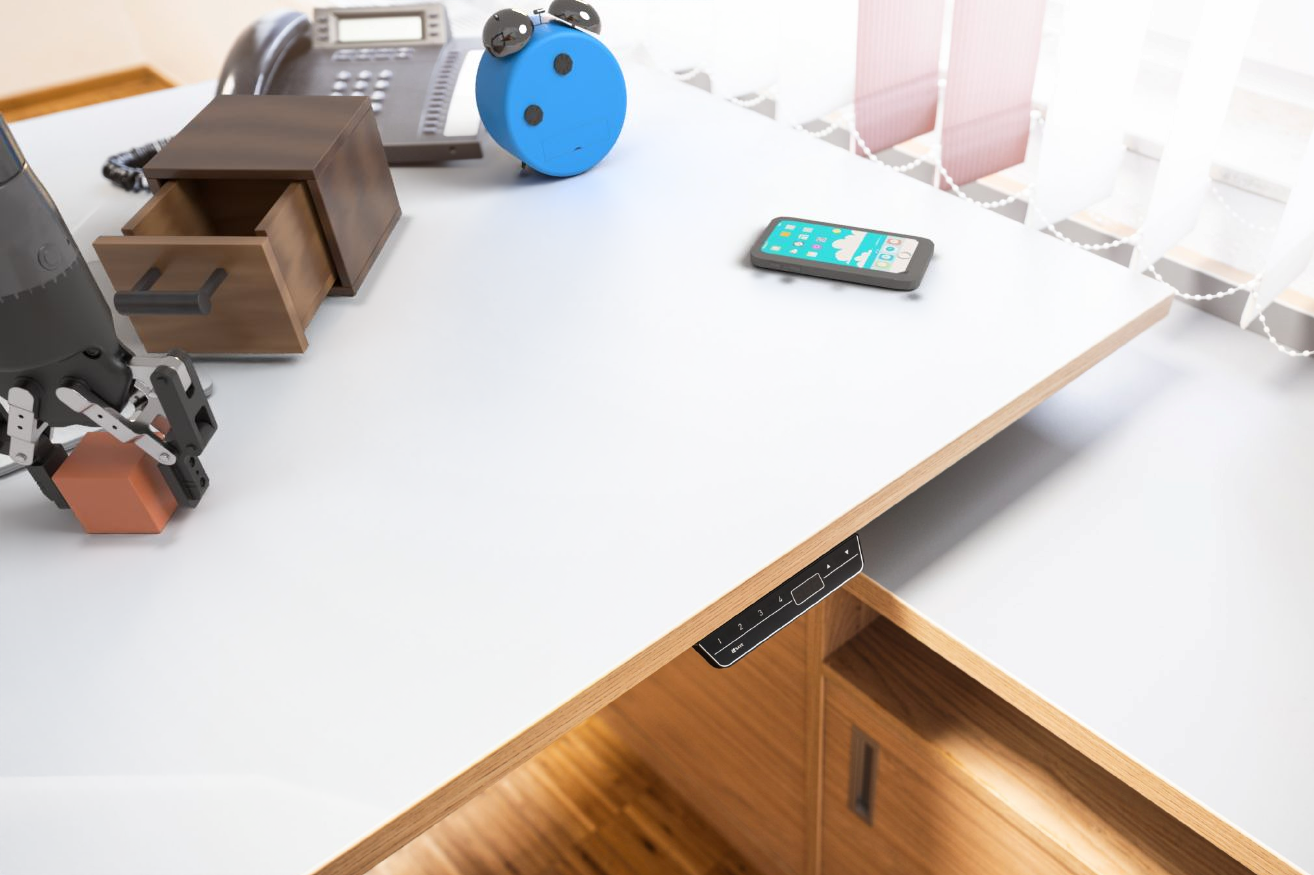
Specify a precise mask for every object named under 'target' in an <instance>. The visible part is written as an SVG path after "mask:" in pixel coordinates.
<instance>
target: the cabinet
mask: <svg viewBox="0 0 1314 875" xmlns="http://www.w3.org/2000/svg"><path fill="white" fill-rule="evenodd" d="M141 171H142V173H143V175H144V176H143V177H144V178H145V180H146V182H147V184H148V187H149V189H150V191H151V194H152V197H153V196H154V195H155V194H156V193H157V191H158V190H159V189H160V188H161V187H162V186H163V185H164V184H165V183H166V182H167V181H168V180H169V179H280V180H307V183H308V186H309V189H310V192H311V195H312V198H313V201H314V204H315V207H316V210H317V213H318V216H319V219H320V221H321V224H322V227H323V230H324V233H325V236H326V239H327V242H328V245H329V248H330V251H331V254H332V257H333V260H334V263H335V266H336V269H337V272H338V275H339V276H338V277H337V279H336V280H335V282H334V284H333V285H332V287H331V289H330V290H329V292H328V294H327V295H326V297H331V296H332V297H338V296H339V297H340V296H341V297H347V296H348V297H353V296H354V297H355V296H356V295H357V293H358V291H359V290H360V287H361V286H362V284H364V281H365V279H366V277H367V276H368V274H369V272H370V271H371V269H372V267H373V266H374V264H375V262H376V260H377V258H378V256H379V255H380V253H381V251H382V249H383V248H384V247H385V245H386V243H387V241H388V239H389V238H390V236H391V235H392V232H393V231H394V228H395V227H396V225H397V223H398V222H399V220H400V218H401V217H402V215H403V212H402V208H401V205H400V201H399V198H398V193H397V190H396V188H395V183H394V179H393V176H392V172H391V169H390V165H389V162H388V158H387V154H386V152H385V148H384V144H383V141H382V137H381V133H380V130H379V126H378V123H377V118H376V115H375V112H374V109H373V106H372V101H371V97H370V96H369V95H315V94H314V95H313V94H311V95H309V94H308V95H307V94H298V95H297V94H225V93H224V94H221V93H220V94H217V95H216V96H215V97H214V98H213V99H212V100H211V101H210V102H209V103H207V104H206V105H205V106H204V107H203V109H201V110H200V112H198V113H197V114H196V115H195V116H194V117H193V118H192V119H191V120H190V121H189V122H188V123H187V124H186V125H184V127H182V129H181V130H180V131H178V133H177V134H176V135H175V136H174V137H172V138H171V139H170V140H169V141H168V142H167V143H166V144H165V145H164V146H163V147H162V148H161V149H160V150H159V151H158V152H157V153H156V154H155V155H154V156H153V157H152V158H151V159H150V160H149V161H148V162H147V163H146V164H145V165H143V166H142V168H141Z"/></svg>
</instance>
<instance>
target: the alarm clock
mask: <svg viewBox="0 0 1314 875" xmlns="http://www.w3.org/2000/svg"><path fill="white" fill-rule="evenodd" d="M532 13H533V15H530V16H529V15H528V14H527V13H526V12H524V11H523V10H521V9H518V8H513V7H512V8H511V7H509V8H508V7H507V8H502V9H500V10H498V11H495V12H494V13H492V15H491V16H490V17H489V18H488V19H487V20H486V22H485V24H484V26H483V29H482V34H481V38H482V39H481V40H482V45H483V47H484V51H483V53H482V55H481V57H480V59H479V63H478V66H477V70H476V75H475V84H474V92H475V93H474V94H475V103H476V108H477V111H478V115H479V117H480V120H481V123H482V124H483V126H484V128H485V130H486V132H487V133H488V134H489V136H490V137H491V139H492V140H493V141H494V142H495V143H496V144H497V145H498V146H500V148H502V149H503V150H504V151H506V152H507V153H509V154H511V155H512V156H513V157H514V158H516V159H518V160H520V161H521V162H520V164H521V165H520V169H521V170H525V169H526V166H529V167H531V168H532V169H534V170H535V171H537V172H539V173H540V174H541V173H542V174H545V175H548V176H552V177H573V176H576V175H580V174H582V173H584V172H587V171H589V170H591V169H592V168H593V167H595V166H596V165H598V164H599V163H600V162H601V161H602V160H603V159H605V157H606V156H607V155H608V154H609V153H610V152H611V151H612V149H613V147H614V146H615V144H616V143H617V141H618V139H619V137H620V136H621V133H622V130H623V127H624V124H625V120H626V116H627V107H628V94H627V85H626V80H625V76H624V74H623V70H622V68H621V66H620V63H619V62H618V60H617V58H616V56H615V55H614V54H613V53H612V51H611V50H610V49H609V48H608V47H607V46H606V45H605V44H604V43H603V42H602V41H600V40H599V39H597V37H594V36H592V35H591V34H590V33H593V34H596V35H601V33H602V27H603V26H602V21H601V18H600V15H599V14H598V11H596V9H595V8H594V7H593V6H592V5H591V4H590V3H588V2H586V1H584V0H553V1H551V3H550V4H549V6H548V9H547V14H549V15H551V16H546V15H541V14H544V13H546V9H545V8H544V7H541V8H538V9H533V11H532ZM552 16H553V17H552ZM579 28H580V29H579ZM581 29H583V30H585V31H588V32H590V33H587V32H585V31H583V30H581Z"/></svg>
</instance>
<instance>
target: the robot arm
mask: <svg viewBox="0 0 1314 875" xmlns="http://www.w3.org/2000/svg"><path fill="white" fill-rule="evenodd" d="M105 298H106V297H105V296H104V294H103V292H102V291H101V288H100V287H99V285H98V283H97V280H96V278H95V277H94V275H93V273H92V271H91V269H90V267H89V265H88V263H87V261H86V259H85V258H84V256H83V253H82V251H81V250H80V248H79V246H78V244H77V243H76V240H75V239H74V237H73V235H72V233H71V231H70V229H69V227H68V226H67V223H66V221H65V219H64V217H63V216H62V213H61V212H60V210H59V208H58V206H57V204H56V203H55V201H54V199H53V197H52V196H51V194H50V192H49V191H48V189H47V188H46V186H45V185H44V183H42V182H41V180H40V178H39V177H38V175H37V174H36V173H35V171H34V170H33V168H32V167H31V165H30V164H29V162H28V160H27V159H26V157H25V155H24V153H23V150H22V149H21V147H20V145H19V143H18V141H17V139H16V137H15V135H14V134H13V131H12V130H11V128H10V126H9V124H8V122H7V120H6V118H5V116H4V114H3V113H2V111H1V110H0V398H2V399H3V400H5V401H7V404H8V405H9V408H8V411H7V410H6V408H5V407H4V405H3V404H2V402H0V455H4V456H8V457H9V458H10V459H11V460H12V461H13V462H14V463H16V464H18V465H21V466H24V467H25V468H26V469H27V471H28V473H29V474H30V476H31V477H32V479H33V481H34V482H35V483H36V485H37V486H38V487H39V490H40V491H41V493H42V494H43V496H45V498H47V499H48V500H50V501H51V502H54V504H55V506H56V507H57V508H58V509H59V510H72V509H71V508H70V506H69V505H68V503H67V502H66V500H65V499H64V497H63V495H62V494H61V492H60V491H59V489H58V488H57V486H56V485H55V483H54V482H53V480H52V476H53V475H54V474H55V472H56V471H57V470H58V469H59V467H60V466H61V465H62V464H63V462H64V461H65V460H66V458H67V457H68V456H69V454H68V452H67V451H66V449H65V447H64V446H63V444H62V442H59V443H58V442H56V443H54V442H53V443H52V440H53V439H54V431H55V428H67V427H71V426H76V425H78V426H82V427H88V428H102V429H104V430H105V432H109V433H110V434H111V435H113V436H114V437H115V438H117V439H118V440H119V441H121V442H123V443H134V444H136V445H137V446H138V447H140V448H141V449H142V450H144V451H145V452H146V453H147V454H149V455H150V456H151V457H153V458H154V459H155V460H157V461H158V462H159V463H158V464H157V467H158V468H159V470H160V472H161V474H162V476H163V477H164V479H165V481H166V483H167V485H168V487H169V488H170V490H171V492H172V494H173V496H174V497H175V499H176V501H177V503H178V507H179V508H180V509H196V508H197V506H198V505H199V503H200V501H202V498H203V496H204V495H205V494H206V492H207V490H208V489H209V487H210V478H209V476H208V474H207V472H206V470H205V468H204V466H203V463H202V462H201V460H200V458H199V456H201V455H202V453H203V452H204V450H205V449H206V447H207V446H208V444H209V443H210V441H211V440H212V438H213V437H214V435H215V433H216V432H217V430H218V427H219V425H218V423H217V420H216V418H215V415H214V413H213V410H212V407H211V405H210V403H209V400H208V398H207V396H206V392H205V390H204V388H203V386H202V383H201V381H200V378H199V376H198V373H197V371H196V368H195V366H194V363H193V360H192V358H191V356H190V354H187V353H186V352H184V351H182V350H180V349H171V350H170V351H169V352H168V353H166V354H165V356H164V357H156V356H155V357H153V356H151V357H150V356H137V354H135V352H134V351H132V350H131V349H130V348H129V347H128V346H127V345H126V344H124V342H123V341H122V340H121V339H120V337H118V335H117V332H116V328H115V324H114V323H115V322H114V317H113V313H112V309H111V307H110V305H109V304H108V302H107V300H106V299H105ZM129 402H130V403H131V404H132V405H133V407H134V412H133V413H132V415H131V416H130V417H129V419H128V418H127V417H125V416H124V415H123V414H122V412H123V411H124V410H125V409H126V407H127V406H128V404H129ZM150 426H151V427H153V428H154V429H156V430H157V432H161V433H162V435H163V437H164V438H163V439H162V438H160V437H159V436H158V435H156V434H155V433H154V432H155V431H153V430H152V429H151V427H150Z"/></svg>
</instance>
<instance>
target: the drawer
mask: <svg viewBox="0 0 1314 875" xmlns="http://www.w3.org/2000/svg"><path fill="white" fill-rule="evenodd" d="M120 231H121V232H122V235H99V236H97V238H96V239H95V240H94V241H93V242H92V243H91V245H92V247H93V250H94V252H95V253H96V256H97V257H98V259H99V261H100V263H101V265H102V267H103V269H104V271H105V273H106V275H107V277H108V279H109V282H110V283H111V284H112V287H113V289H114V290H115V293H114V295H113V305H114V308H115V310H116V312H117V313H118V314H119V315H121V316H128V318H129V321H130V322H131V323H132V326H133V328H134V330H135V332H136V334H137V336H138V337H139V340H140V342H141V344H142V346H143V348H144V350H145V351H146V354H167V353H168V352H169V351H170V350H171V349H180V350H182V351H184V352H186V353H187V354H188V355H190V354H198V355H199V354H200V355H201V354H202V355H203V354H204V355H205V354H211V355H213V354H215V355H216V354H223V355H225V354H226V355H227V354H231V355H232V354H237V355H238V354H240V355H241V354H243V355H244V354H249V355H250V354H251V355H253V354H254V355H256V354H258V355H261V354H263V355H265V354H266V355H268V354H271V355H273V354H274V355H275V354H276V355H284V354H285V355H290V354H291V355H304V354H305V353H306V351H307V349H308V348H309V345H310V344H309V341H308V339H307V336H306V333H305V331H306V330H307V328H308V326H309V325H310V323H311V322H312V319H313V318H314V317H315V315H316V313H317V311H318V310H319V308H320V307H321V306H322V303H323V302H324V300H325V298H326V297H327V296H326V295H327V294H328V292H329V290H330V289H331V287H332V285H333V284H334V282H335V280H336V279H337V277H338V276H339V275H338V272H337V269H336V266H335V263H334V260H333V257H332V254H331V251H330V248H329V245H328V242H327V239H326V236H325V233H324V230H323V227H322V224H321V221H320V219H319V216H318V213H317V210H316V207H315V204H314V201H313V198H312V195H311V192H310V189H309V186H308V183H307V180H280V179H169V180H168V181H167V182H166V183H165V184H164V185H163V186H162V187H161V188H160V189H159V190H158V191H157V193H156V194H155V195H154V196H153V195H152V197H151V198H150V199H149V200H147V202H146V203H144V205H142V207H141V208H140V209H139V210H138V211H137V212H135V214H134V215H133V216H132V217H131V218H130V219H129V220H128V221H127V222H126V223H125V224H124V225H123V226H122V227H121V229H120Z"/></svg>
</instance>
